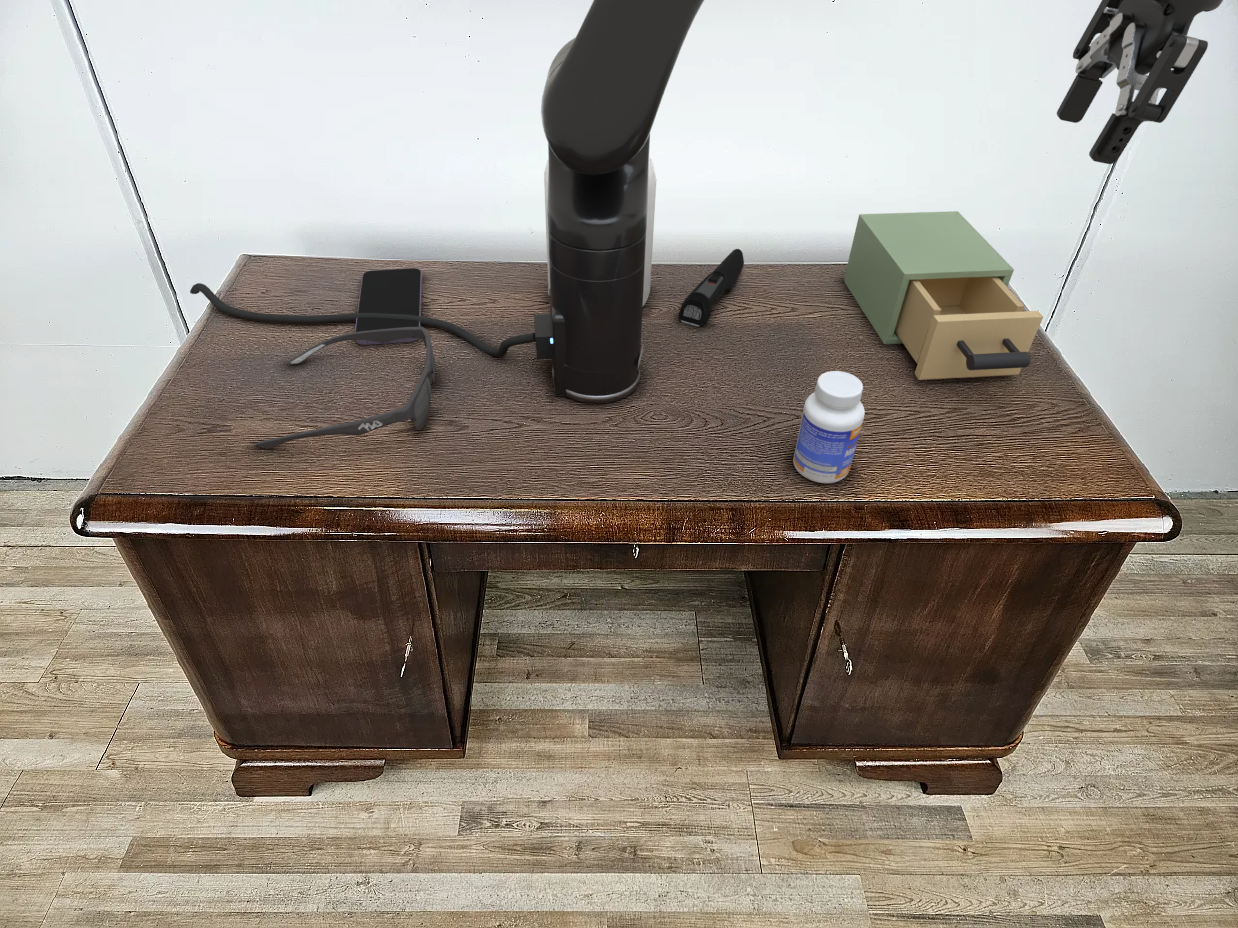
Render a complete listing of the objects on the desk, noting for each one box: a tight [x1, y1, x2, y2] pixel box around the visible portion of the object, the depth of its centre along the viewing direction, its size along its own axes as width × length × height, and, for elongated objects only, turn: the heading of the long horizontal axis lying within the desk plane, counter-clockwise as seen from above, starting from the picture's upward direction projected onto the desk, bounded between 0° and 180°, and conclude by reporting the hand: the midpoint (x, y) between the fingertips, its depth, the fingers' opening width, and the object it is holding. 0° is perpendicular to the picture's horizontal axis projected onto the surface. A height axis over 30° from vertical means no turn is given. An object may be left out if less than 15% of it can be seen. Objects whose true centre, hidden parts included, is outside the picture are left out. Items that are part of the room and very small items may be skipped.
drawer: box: [895, 276, 1044, 381], centre depth 89 cm, size 18×11×7 cm, turn 7°
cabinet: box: [843, 210, 1015, 345], centre depth 97 cm, size 15×13×9 cm
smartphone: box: [354, 267, 423, 346], centre depth 97 cm, size 7×1×15 cm
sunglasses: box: [255, 326, 436, 450], centre depth 83 cm, size 16×17×5 cm
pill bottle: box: [792, 370, 866, 484], centre depth 75 cm, size 5×5×10 cm
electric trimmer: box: [678, 248, 745, 327], centre depth 101 cm, size 4×16×3 cm, turn 153°
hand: (1083, 139), depth 72 cm, fingers open, 8 cm apart
